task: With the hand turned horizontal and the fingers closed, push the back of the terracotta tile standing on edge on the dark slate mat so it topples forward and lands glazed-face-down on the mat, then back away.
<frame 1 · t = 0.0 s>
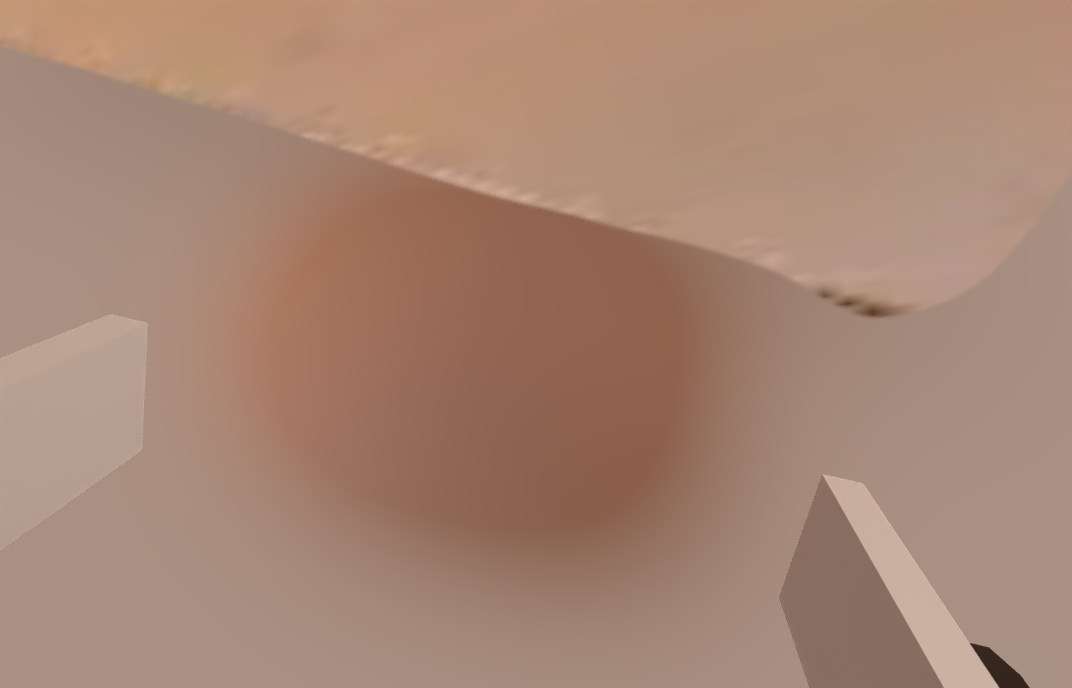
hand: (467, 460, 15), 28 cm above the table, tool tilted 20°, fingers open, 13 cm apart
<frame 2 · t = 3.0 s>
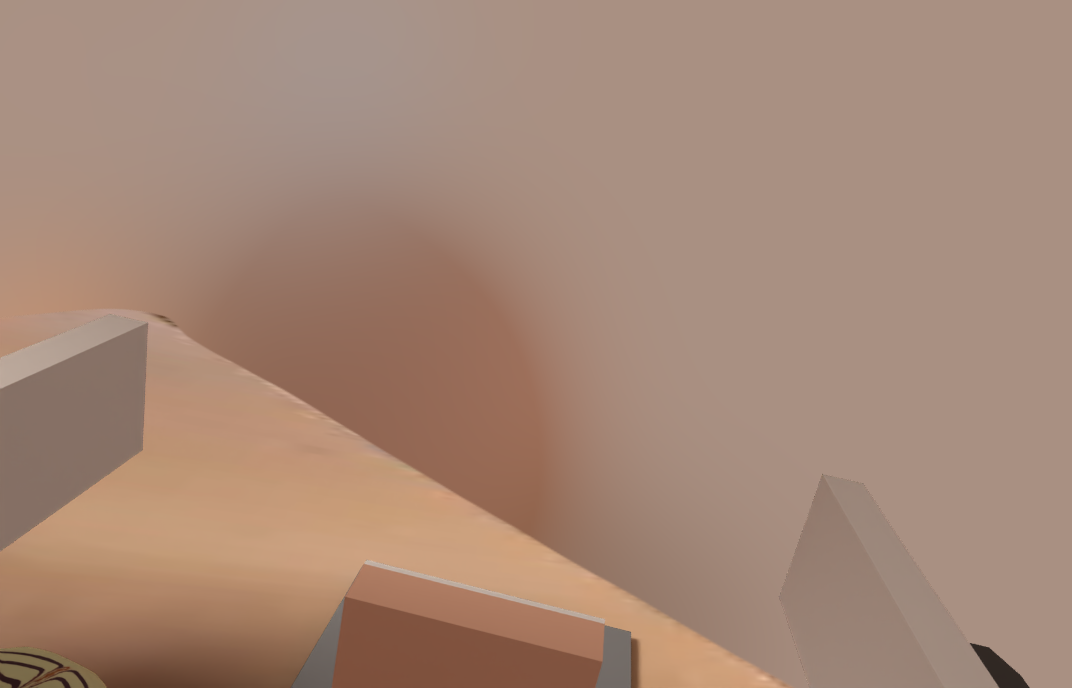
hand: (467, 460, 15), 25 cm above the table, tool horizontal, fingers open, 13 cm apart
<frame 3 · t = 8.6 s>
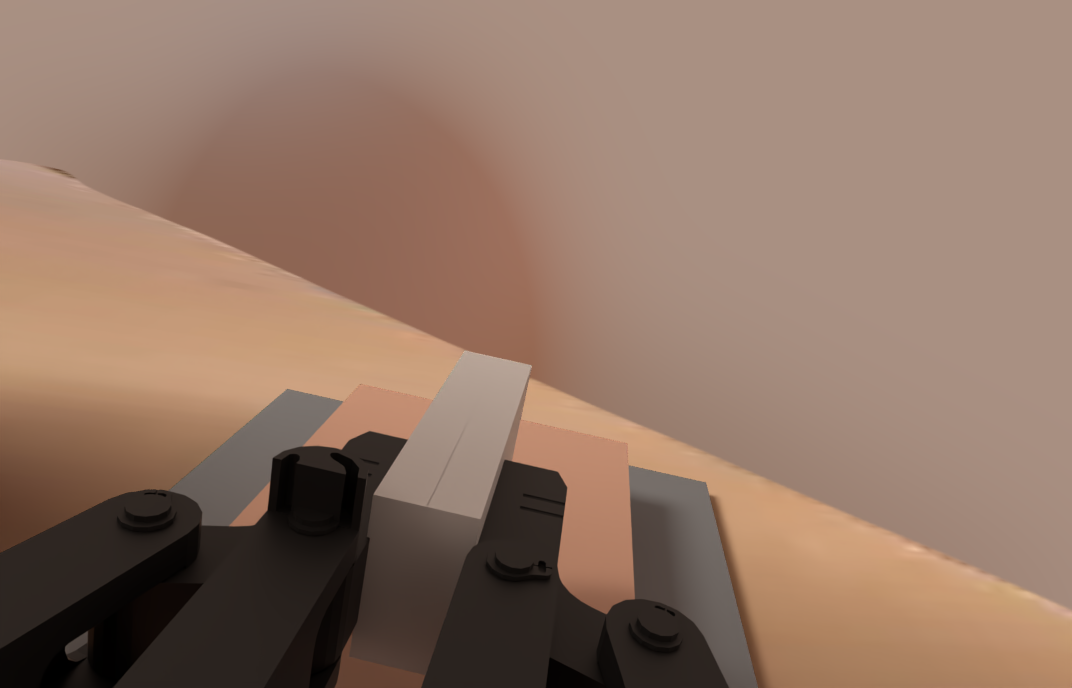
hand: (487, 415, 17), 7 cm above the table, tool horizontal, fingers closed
terracotta tile: (402, 670, 17), point 2 cm above the table, tilted 90°, touching slate mat
slate mat: (426, 634, 21), on the table
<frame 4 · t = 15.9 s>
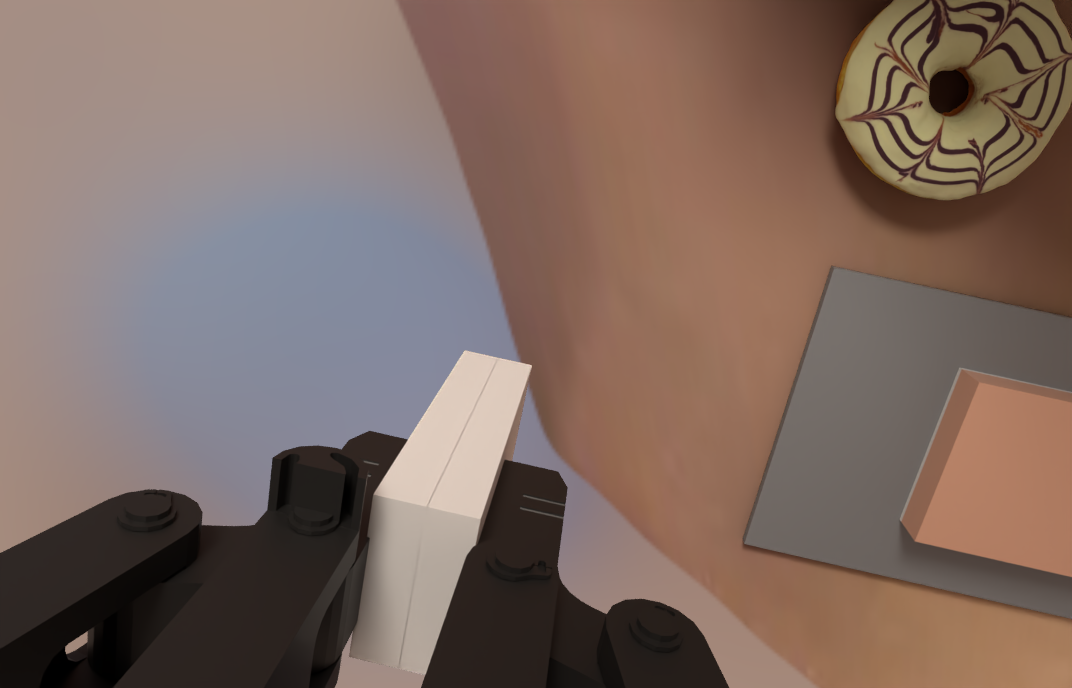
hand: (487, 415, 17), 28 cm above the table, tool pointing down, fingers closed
terracotta tile: (936, 455, 44), point 2 cm above the table, tilted 90°, touching slate mat
slate mat: (984, 454, 45), on the table
decorated donut: (933, 91, 40), on the table
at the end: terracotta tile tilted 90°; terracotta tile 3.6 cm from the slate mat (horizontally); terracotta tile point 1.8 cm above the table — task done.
